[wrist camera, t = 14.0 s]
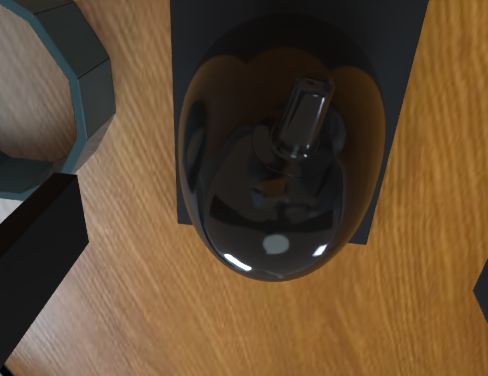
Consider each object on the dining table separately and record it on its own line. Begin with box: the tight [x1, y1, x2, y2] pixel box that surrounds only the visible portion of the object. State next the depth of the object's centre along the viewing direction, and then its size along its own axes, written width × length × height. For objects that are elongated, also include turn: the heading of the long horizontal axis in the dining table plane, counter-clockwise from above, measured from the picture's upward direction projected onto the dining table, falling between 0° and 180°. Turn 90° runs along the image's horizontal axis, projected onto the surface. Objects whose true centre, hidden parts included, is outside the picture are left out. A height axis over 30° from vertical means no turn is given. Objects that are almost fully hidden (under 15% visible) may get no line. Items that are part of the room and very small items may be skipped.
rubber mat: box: [170, 0, 429, 245], centre depth 26 cm, size 22×14×1 cm, turn 177°
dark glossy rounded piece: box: [178, 13, 386, 282], centre depth 19 cm, size 10×10×15 cm
